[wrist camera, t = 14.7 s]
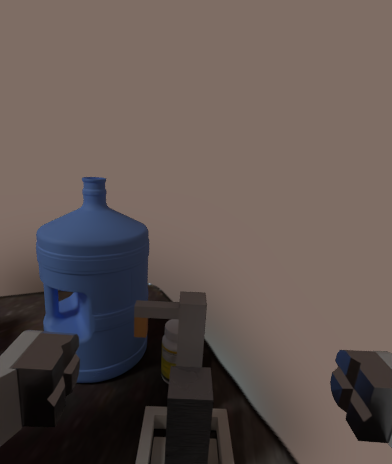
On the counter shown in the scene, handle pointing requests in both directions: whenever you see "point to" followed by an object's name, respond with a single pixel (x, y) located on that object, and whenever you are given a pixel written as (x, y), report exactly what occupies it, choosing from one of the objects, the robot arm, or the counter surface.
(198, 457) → the link block
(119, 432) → the counter surface
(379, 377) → the robot arm
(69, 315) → the water jug
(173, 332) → the supplement bottle
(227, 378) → the counter surface
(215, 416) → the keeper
